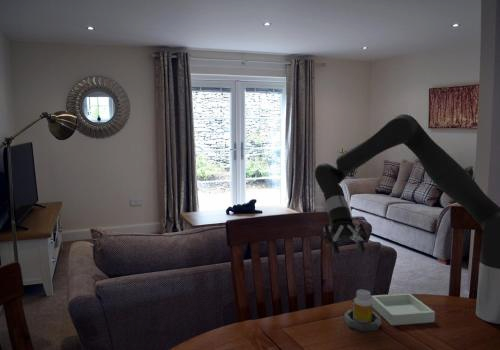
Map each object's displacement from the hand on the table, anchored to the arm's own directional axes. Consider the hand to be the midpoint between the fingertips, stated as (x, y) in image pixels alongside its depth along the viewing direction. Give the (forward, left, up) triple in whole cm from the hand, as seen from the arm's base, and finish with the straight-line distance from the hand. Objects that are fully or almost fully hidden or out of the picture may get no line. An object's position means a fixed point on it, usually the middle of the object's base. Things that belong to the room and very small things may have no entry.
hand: (350, 253), depth 130 cm
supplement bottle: (0, +12, -18) cm, 22 cm away
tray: (-15, +8, -18) cm, 24 cm away
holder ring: (0, +12, -18) cm, 21 cm away
